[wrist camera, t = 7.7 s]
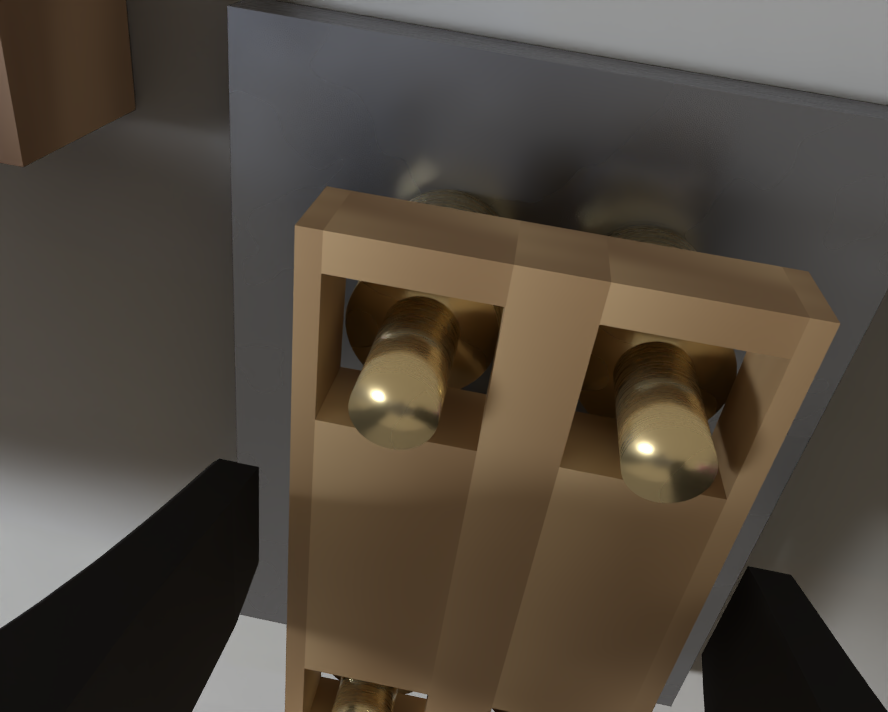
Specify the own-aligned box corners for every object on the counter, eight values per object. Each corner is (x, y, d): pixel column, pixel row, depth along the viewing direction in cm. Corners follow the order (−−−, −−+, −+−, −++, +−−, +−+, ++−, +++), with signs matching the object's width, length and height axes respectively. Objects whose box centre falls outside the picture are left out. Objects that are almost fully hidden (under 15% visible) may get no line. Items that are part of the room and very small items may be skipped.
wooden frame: (304, 689, 14) (283, 750, 13) (326, 186, 9) (295, 225, 8) (597, 751, 14) (599, 819, 13) (808, 271, 8) (841, 323, 7)
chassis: (255, 580, 18) (153, 805, 14) (253, -4, 11) (40, 71, 7) (666, 667, 18) (697, 930, 13) (936, 114, 11) (1200, 279, 6)
